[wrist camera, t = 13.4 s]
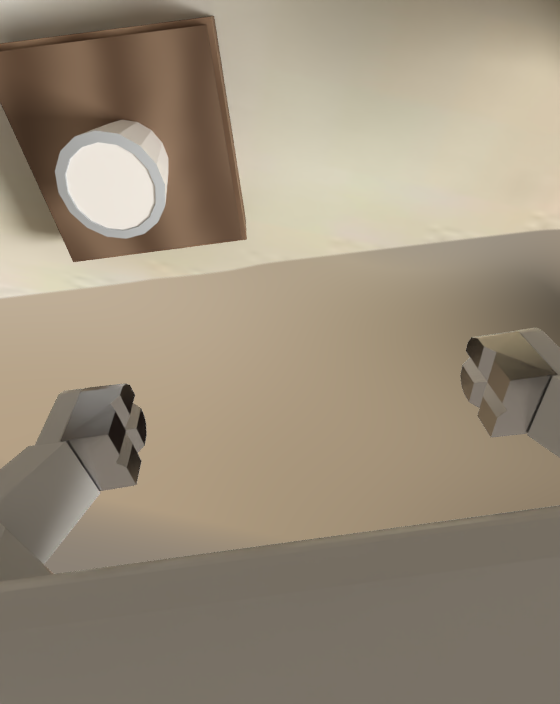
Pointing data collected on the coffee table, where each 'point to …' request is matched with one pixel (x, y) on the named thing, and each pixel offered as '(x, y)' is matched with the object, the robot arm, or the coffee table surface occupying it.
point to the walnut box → (139, 106)
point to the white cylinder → (114, 178)
